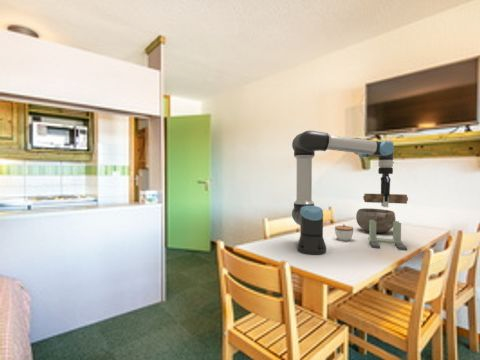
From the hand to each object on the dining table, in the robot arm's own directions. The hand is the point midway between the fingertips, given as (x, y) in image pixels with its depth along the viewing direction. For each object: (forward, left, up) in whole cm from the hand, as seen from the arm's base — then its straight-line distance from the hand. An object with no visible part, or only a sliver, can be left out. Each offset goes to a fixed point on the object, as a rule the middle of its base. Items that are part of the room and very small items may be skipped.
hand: (384, 206), depth 158 cm
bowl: (-1, +28, -21) cm, 35 cm away
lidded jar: (-23, -1, -21) cm, 31 cm away
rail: (0, 0, +2) cm, 2 cm away
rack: (0, +2, -21) cm, 21 cm away
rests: (-1, -11, -21) cm, 24 cm away
